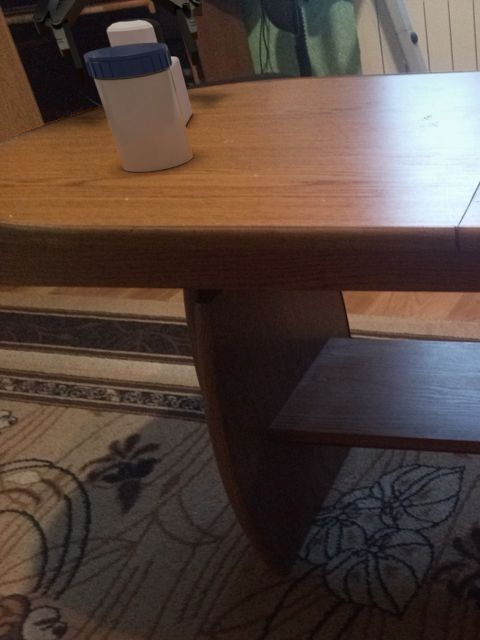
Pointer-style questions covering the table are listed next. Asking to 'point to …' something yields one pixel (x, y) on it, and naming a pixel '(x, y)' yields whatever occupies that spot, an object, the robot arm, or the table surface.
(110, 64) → the jar lid
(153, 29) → the medicine bottle
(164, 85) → the jar
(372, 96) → the table surface
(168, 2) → the robot arm
